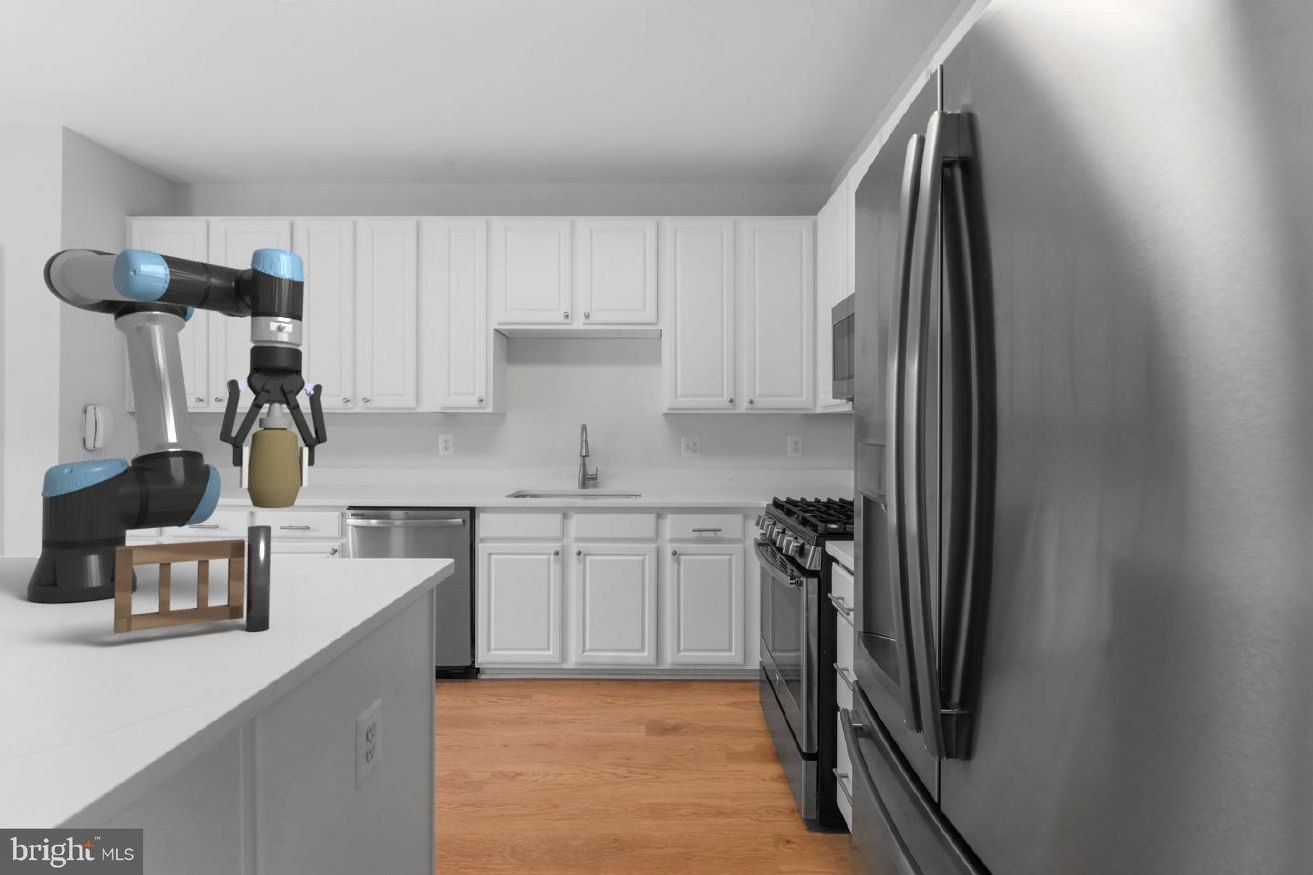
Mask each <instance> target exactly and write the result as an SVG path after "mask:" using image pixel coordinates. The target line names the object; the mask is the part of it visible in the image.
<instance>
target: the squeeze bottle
mask: <svg viewBox="0 0 1313 875" xmlns="http://www.w3.org/2000/svg"><path fill="white" fill-rule="evenodd" d="M258 420H259V421H258V428H259V430H257V431H255V432H254V433H252V436H251V441H250V442H251V443H250V444H251V445H250V448H249V449H250V450H249V456H248V488H246V489H247V492H248V495H249V499H250V502H251V504H252V506H253V507H255V508H260V509H281V508H290V507H293V506H295V503H296V499H297V498H298V495H299V491H300V489H301V473H300V462H299V443H298V442H299V440H298V434H296V433H295V432H294V431H292V430H288V429H292V418H287V417H285V414H284V409H283V404H280V403H272V404H268V408H267V413H266V416H265V417H259V419H258Z"/></svg>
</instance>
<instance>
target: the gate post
mask: <svg viewBox="0 0 1313 875" xmlns="http://www.w3.org/2000/svg"><path fill="white" fill-rule="evenodd" d="M271 550H272V526H271V525H266V524H265V525H264V524H263V525H250V526H248V527H247V556H246V557H247V558H246V560H247V562H246V601H245V602H246V603H245V604H246V605H245V606H246V607H245V608H246V611H245V614H246V615H245V631H246V632H249V633H256V632H264V631H268V630H269V629H270V604H271V603H270V602H271V601H270V600H271V599H270V598H271V559H272V558H271V555H272V554H271Z"/></svg>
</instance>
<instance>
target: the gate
mask: <svg viewBox="0 0 1313 875" xmlns="http://www.w3.org/2000/svg"><path fill="white" fill-rule="evenodd" d="M245 558H246V540H245V539H243V538H241V539H239V538H238V539H224V540H223V539H221V540H206V541H205V540H204V541H193V542H192V541H189V542H175V543H174V542H173V543H172V542H171V543H158V544H157V543H156V544H155V543H154V544H153V543H152V544H142V545H141V544H139V545H126V546H120V547H116V554H115V597H114V602H113V603H114V611H113V612H114V613H113V614H114V615H113V617H114V618H113V633H114V634H116V635H117V634H124V633H131V632H133V631H142V630H151V629H152V630H153V629H159V628H168V627H169V628H170V627H176V626H185V625H194V624H195V625H196V624H203V623H204V624H205V623H212V622H219V621H233V620H243V619H244V618H245V617H244V615H245V614H244V612H245V609H244V608H245V606H244V605H245V564H246V563H245V560H246V559H245ZM226 559H227V560H228V562H227V566H228V567H227V602H226V603H227V604H220V605H209V581H210V580H209V576H210V575H209V574H210V561H212V560H226ZM185 562H197V582H196V583H197V588H196V589H197V590H196V592H197V595H196V607H193V608H192V607H191V608H183V609H182V608H181V609H174V610H173V609H171V574H172V573H171V570H172V569H171V568H172V563H185ZM155 564H156V565H157V564H158V565H159V567H158V568H159V573H158V574H159V575H158V576H159V577H158V578H159V579H158V611H154V612H145V613H136V614H135V613H134V614H132V607H133V606H132V604H133V601H132V600H133V592H132V567H133V568H134V566H143V565H146V566H147V565H155Z"/></svg>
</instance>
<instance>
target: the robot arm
mask: <svg viewBox="0 0 1313 875" xmlns="http://www.w3.org/2000/svg"><path fill="white" fill-rule="evenodd" d="M251 258H252V259H251V262H250V268H246V269H239V268H233V267H230V266H229V267H228V266H224V265H219V264H218V265H217V264H215V263H214V264H212V263H207V262H202V261H195V260H191V259H186V258H181V257H176V256H172V255H166V254H162V253H157V252H155V251H151V250H145V249H144V250H143V249H142V250H140V249H133V248H125V249H124V250H122V251H120V253H119V254H117V253H112V252H107V251H102V250H99V249H98V250H96V249H87V248H71V249H64V250H61V251H58V252H56V253H54V254H53V255H52V256H50V258H48V259H47V261H46V262H45V265H44V268H43V271H42V272H43V280H44V282H45V283H44V284H45V285H46V287H47V289H48V290H49V291H50V292H51V294H53V296H55V297H56V298H57V299H59V300H60V301H62V302H63V303H65V304H68V305H70V306H71V307H75V308H76V309H80V310H84V311H88V312H93V313H101V314H107V315H113V319H114V325H115V326H114V327H115V328H116V329H117V330H118V331H119V332H121V333H123V334H124V335H125V339H126V348H127V356H128V363H129V366H128V367H129V373H130V381H131V389H132V398H133V399H132V400H133V406H134V414H135V424H136V431H137V432H136V433H137V438H138V439H137V440H138V449H139V451H138V452H137V453H136V454H135V455H134V456H133V457H132V458H131V460H130V463H131V464H129V463H128V460H127V459H126V458H121V457H120V458H104V459H90V460H82V461H81V460H80V461H74V462H68V463H67V462H65V463H60V464H57V465H53V466H51V467H49V468H48V469H47V470H46V471H45V473H44V478H43V485H42V491H41V493H40V495H41V497H42V520H41V521H42V523H41V524H42V526H41V528H42V529H41V553H40V555H39V558H38V561H37V563H36V565H35V568H34V570H33V572H32V574H31V577H30V579H29V582H28V585H27V589H26V590H27V593H26V594H27V595H26V596H27V600H28V601H31V602H34V603H35V602H36V603H74V602H76V603H77V602H87V601H95V600H103V599H110V598H115V554H116V547H120V546H127V545H126V544H127V543H126V542H127V540H126V539H127V531H130V530H131V531H133V530H135V531H136V530H146V529H159V528H160V529H161V528H171V527H178V528H182V527H185V526H193V525H200V524H202V523H204V522H207V520H209V519H210V518H211V517H212V515H213V514H214V513H215V511H216V508H217V506H218V503H219V500H220V495H221V487H222V486H221V476H220V474H219V473H220V472H219V471H218V469H217V468H216V467H215V466H214V465H212V464H210V463H205V460H204V453H203V451H201V450H200V449H198V448H196V447H195V446H194V445H193V440H192V439H193V438H192V431H191V430H192V429H191V424H190V423H191V422H190V416H189V407H188V402H187V393H186V386H185V378H184V370H183V364H182V363H183V362H182V355H181V347H180V340H179V333H181V331H182V330H184V329H185V327H186V323H187V322H189V321H190V320H191V319H192V317H193V315H194V312H195V309H198V310H205V311H210V312H211V311H212V312H216V313H217V312H218V313H219V314H221V315H223V316H226V317H229V318H241V319H243V318H247V317H250V338H249V340H250V341H249V342H250V343H252V344H253V346H252V347H251V348H250V350H249V351H250V352H249V354H250V355H249V372H248V373H249V374H247V377H246V378H245V379H244V378H243V379H234V378H233V379H230V380H228V381H227V382H226V385H227V387H226V388H227V391H228V398H227V401H226V406H225V411H224V415H223V420H222V424H221V430H220V433H219V440H220V442H223V443H226V444H229V445H231V447H232V462H231V463H232V466H233V467H239V488H240V489H241V488H242V489H247V488H248V464H249V454H250V450H249V449H250V448H249V447H250V446H244V443H245V441H246V439H247V437H248V436H249V433H250V432H251V429H252V427H253V426H254V424H255V421H257V418H258V416H259V414H260V412H261V410H262V409H263V407H264V405H265V404H266V405H270V404H272V403H280V404H282V406H283V405H285V406H286V408H287V409H288V411H289V414H290V416H291V419H292V420H293V422H294V424H295V426H296V428H297V431H298V433H299V435H300V438H301V439H302V442H303V444H304V446H298V451H299V462H300V473H301V487H302V488H308V487H309V486H308V483H309V482H308V480H309V479H308V477H309V471H308V470H309V469H308V468H309V467H314V465H315V459H316V458H315V455H316V454H315V451H316V447H317V446H319V445H322V444H325V443H326V442H327V441H328V436H327V430H326V425H325V419H324V413H323V407H322V401H321V396H322V390H323V385H322V384H320V383H316V384H314V383H309V382H305V380H304V377H303V371H302V370H303V351H301V349H299V348H300V347H301V346H302V345H303V318H304V317H303V316H304V315H303V313H304V292H305V291H304V287H305V280H306V279H305V277H304V261H303V258H302V256H300V255H299V254H297V253H296V252H293V251H290V250H285V249H280V248H279V249H278V248H258V249H256V250H254V252H253V253H252V256H251ZM246 386H247V387H248V388H249V389H250V391H251V392H252V393H253V395H254V398H253V400H252V402H251V404H250V407H249V409H248V410H247V413H246V415H245V416H244V417H243V420H242V422H241V424H240V426H239V428H238V430H237V432H236V433H235V436H233V434H232V433H233V431H234V430H233V429H234V425H235V419H236V415H237V411H238V406H239V402H240V396H241V394H242V393H243V392H244V391H245V388H246ZM303 390H304V391H305V395H306V396H308V397H309V398H308V399H309V400H308V401H309V407H310V412H311V413H310V414H311V419H312V426H313V431H314V436H313V434H312V431H311V430H310V427H309V425H308V422H307V421H306V418H305V416H304V414H303V411H302V409H301V406H300V403H299V401H298V399H297V396H298V395H299V394H300V392H301V391H303ZM301 487H300V488H301ZM137 586H138V578H137V574H136V571H135V569H134V566H133V567H132V593H133V592H136V590H137V588H138V587H137Z"/></svg>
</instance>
